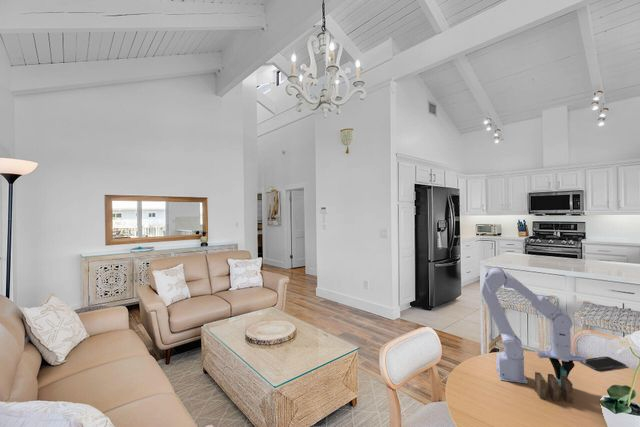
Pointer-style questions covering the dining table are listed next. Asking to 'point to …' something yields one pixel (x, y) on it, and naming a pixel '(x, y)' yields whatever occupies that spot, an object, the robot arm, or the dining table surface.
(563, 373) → the domino teal placed
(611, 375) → the dining table surface
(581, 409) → the dining table surface
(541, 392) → the domino
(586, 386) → the dining table surface
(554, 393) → the domino
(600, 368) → the phone
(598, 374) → the dining table surface
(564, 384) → the domino
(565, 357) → the robot arm
